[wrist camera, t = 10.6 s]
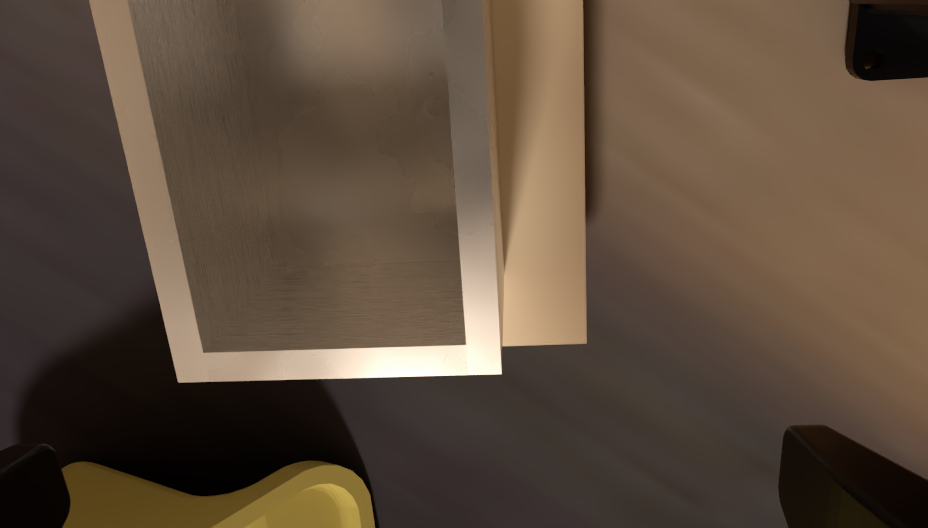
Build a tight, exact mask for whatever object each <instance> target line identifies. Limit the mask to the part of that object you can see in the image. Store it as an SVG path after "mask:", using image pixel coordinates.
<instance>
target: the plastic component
mask: <svg viewBox="0 0 928 528" xmlns="http://www.w3.org/2000/svg"><path fill="white" fill-rule="evenodd" d="M62 472H63V475H64V478H65V481H66V484H67V488H68V491H69V494H70V501H71V504H70V511H69V515H68V517H67V520H66V522H65V524H64V526H63V528H375V523H374V516H373V510H372V503H371V496H370V493H369V491H368V489H367V488H366V486H365V484H364V482H363V480H362V479H361V478H360V477H359V476H357V475H356V474H355V473H354V472H353V471H352V470H349V469H347V468H344V467H341V466H339V465H335V464H331V463H327V462H322V461H303V462H298V463H294V464H291V465H288V466H285V467H283V468H281V469H279V470H278V471H276V472H274V473H273V474H271V475H269V476H267V477H266V478H264V479H262V480H261V481H259V482H257V483H255V484H253V485H251V486H249V487H247V488H244V489H241V490H238V491H235V492H232V493H228V494H222V495H215V496H195V495H190V494H187V493H184V492H181V491H178V490H175V489H172V488H169V487H166V486H163V485H160V484H157V483H154V482H151V481H148V480H145V479H142V478H139V477H136V476H133V475H130V474H127V473H124V472H121V471H118V470H115V469H112V468H109V467H105V466H102V465H99V464H96V463H93V462H85V461H83V462H75V463H71V464H69V465H67V466H65V467H63V468H62Z"/></svg>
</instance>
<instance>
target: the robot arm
mask: <svg viewBox="0 0 928 528" xmlns="http://www.w3.org/2000/svg"><path fill="white" fill-rule="evenodd" d="M849 1H850V2H852V5H851V14H850V22H849V31H848V40H847V49H846V58H845V63H846V69H847V70H848V72H849V74H850V75H852V76H854V77H855V78H858V79H862V80H869V81H876V80H892V79H908V78H924V77H928V0H849ZM870 50H874V51H875V52H876V55H877V59H876V61H875V64H874V65H872V66H871V67H870V68H867V69H866V68H865V67H864V66H863V58H864V56H865V54H866V53H867V52H868V51H870ZM778 488H779V498H780V503H781V507H782V510H783V513H784V516H785V519H786V521H787V524H788V527H789V528H928V480H927V479H925V478H923V477H921V476H919V475H918V474H916V473H914V472H912V471H910V470H908V469H906V468H904V467H903V466H901V465H899V464H897V463H895V462H893V461H891V460H889V459H888V458H886V457H884V456H882V455H880V454H878V453H876V452H874V451H873V450H871V449H869V448H867V447H865V446H863V445H861V444H859V443H858V442H856V441H854V440H852V439H850V438H848V437H846V436H844V435H843V434H841V433H839V432H837V431H835V430H833V429H831V428H829V427H827V426H825V425H793V426H790V427H788V428H787V429H786V431H785V433H784V436H783V444H782V454H781V464H780V474H779V485H778ZM70 504H71V501H70V494H69V491H68V488H67V484H66V481H65V478H64V475H63V472H62V469H61V466H60V462H59V459H58V456H57V454H56V451H55V450H54V449H53V448H52V447H51V446H50V445H48V444H17V445H13V446H10V447H8V448H6V449H4V450H1V451H0V528H63V526H64V524H65V522H66V520H67V517H68V515H69V511H70Z"/></svg>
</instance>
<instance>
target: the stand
mask: <svg viewBox="0 0 928 528" xmlns="http://www.w3.org/2000/svg"><path fill="white" fill-rule="evenodd" d="M491 6H492V27H493V48H494V68H495V89H496V110H497V130H498V151H499V172H500V192H501V213H502V234H503V255H504V308H503V346H527V345H557V344H587V338H586V240H585V142H584V44H583V0H491Z"/></svg>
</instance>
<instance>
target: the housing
mask: <svg viewBox="0 0 928 528" xmlns="http://www.w3.org/2000/svg"><path fill="white" fill-rule="evenodd" d="M89 2H90V6H91V10H92V15H93V19H94V23H95V28H96V32H97V36H98V40H99V45H100V49H101V53H102V58H103V62H104V66H105V70H106V75H107V79H108V83H109V88H110V92H111V96H112V101H113V105H114V109H115V113H116V118H117V122H118V126H119V131H120V135H121V139H122V144H123V148H124V152H125V156H126V161H127V165H128V169H129V174H130V178H131V182H132V187H133V191H134V195H135V199H136V204H137V208H138V212H139V217H140V221H141V225H142V230H143V234H144V238H145V242H146V247H147V251H148V255H149V260H150V264H151V268H152V272H153V277H154V281H155V285H156V290H157V294H158V298H159V303H160V307H161V311H162V315H163V320H164V324H165V328H166V333H167V337H168V341H169V346H170V350H171V354H172V358H173V363H174V367H175V371H176V376H177V380H178V383H185V382H223V381H261V380H299V379H337V378H375V377H413V376H451V375H489V374H502V348H503V308H504V255H503V234H502V213H501V192H500V172H499V151H498V130H497V110H496V89H495V68H494V48H493V27H492V6H491V0H89Z"/></svg>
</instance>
